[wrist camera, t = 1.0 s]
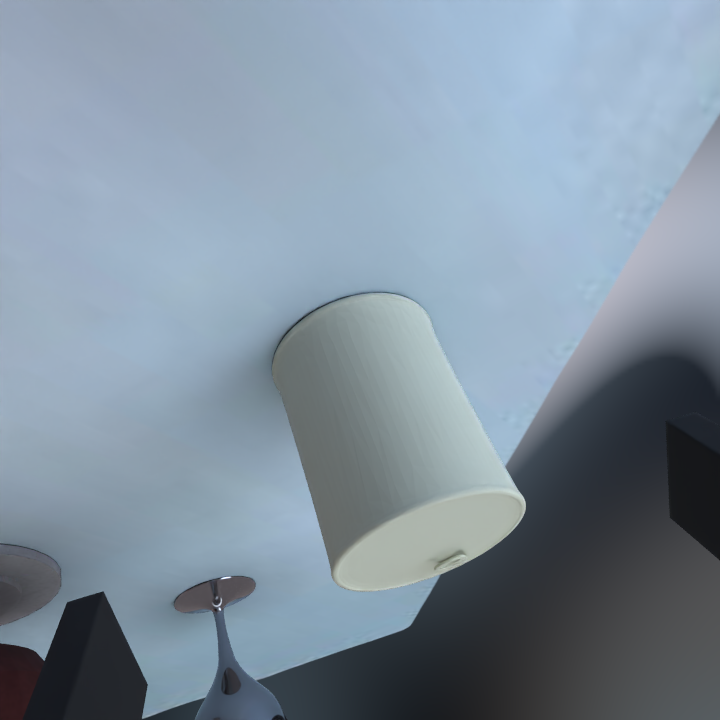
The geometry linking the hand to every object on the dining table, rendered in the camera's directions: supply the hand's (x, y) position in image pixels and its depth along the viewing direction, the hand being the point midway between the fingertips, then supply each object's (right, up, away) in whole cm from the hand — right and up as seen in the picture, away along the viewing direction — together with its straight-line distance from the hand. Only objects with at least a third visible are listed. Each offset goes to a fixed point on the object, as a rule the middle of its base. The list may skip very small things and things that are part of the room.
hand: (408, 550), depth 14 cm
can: (-1, +5, +20) cm, 21 cm away
